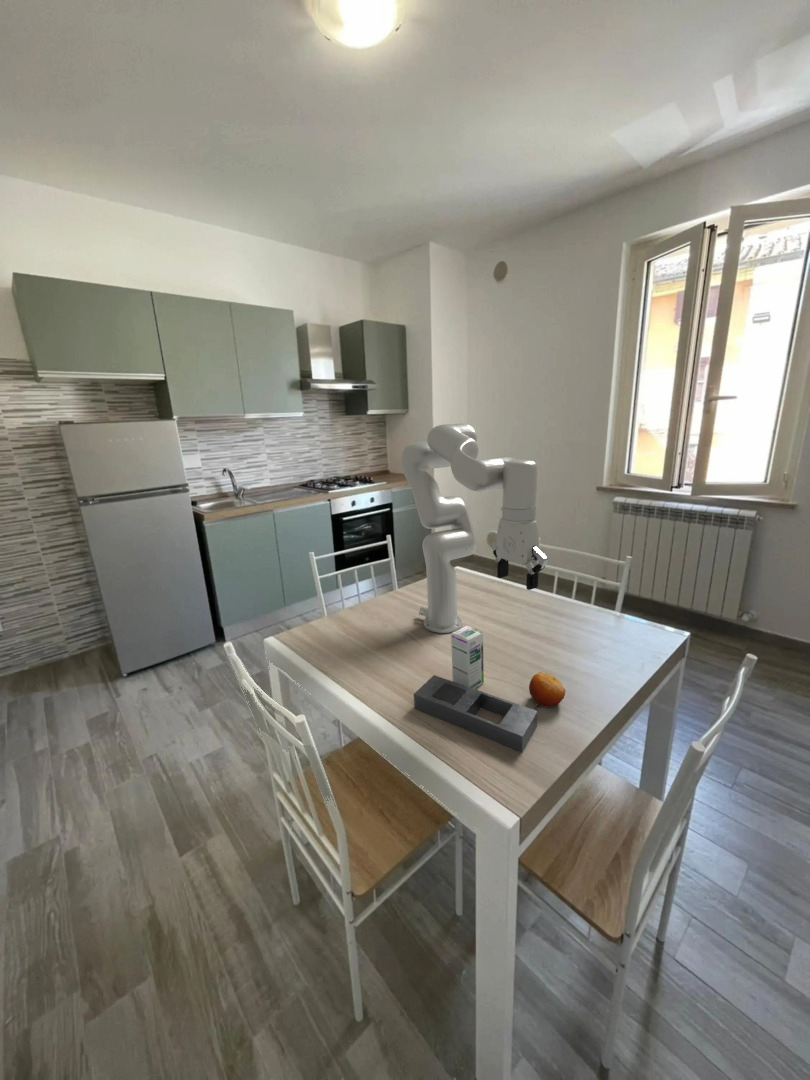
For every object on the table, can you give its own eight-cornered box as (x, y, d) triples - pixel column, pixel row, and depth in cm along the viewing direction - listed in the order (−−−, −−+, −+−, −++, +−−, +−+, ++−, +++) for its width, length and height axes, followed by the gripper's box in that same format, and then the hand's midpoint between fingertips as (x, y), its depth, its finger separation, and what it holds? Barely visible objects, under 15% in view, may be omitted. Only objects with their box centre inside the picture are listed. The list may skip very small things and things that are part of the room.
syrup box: (469, 693, 104) (469, 640, 100) (451, 683, 109) (450, 631, 105) (484, 683, 108) (484, 631, 104) (466, 674, 112) (465, 624, 108)
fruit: (516, 688, 103) (533, 662, 101) (542, 700, 104) (560, 674, 103) (528, 709, 95) (547, 681, 94) (556, 722, 97) (576, 694, 95)
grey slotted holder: (414, 708, 100) (413, 693, 98) (434, 688, 107) (434, 674, 105) (522, 753, 85) (522, 736, 84) (537, 726, 92) (537, 710, 91)
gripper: (481, 510, 104) (481, 575, 109) (536, 522, 90) (533, 597, 95) (504, 506, 108) (503, 569, 113) (560, 517, 94) (556, 589, 98)
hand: (516, 582), depth 104 cm, fingers open, 9 cm apart
